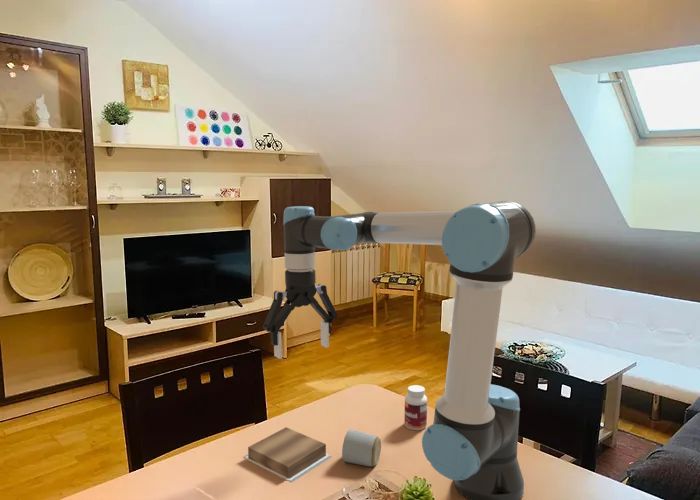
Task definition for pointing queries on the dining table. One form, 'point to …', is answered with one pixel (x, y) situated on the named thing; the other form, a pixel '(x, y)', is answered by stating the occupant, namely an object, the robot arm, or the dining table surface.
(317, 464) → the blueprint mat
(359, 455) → the ceramic mug
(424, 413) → the pill bottle
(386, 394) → the dining table surface
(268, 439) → the walnut slab
